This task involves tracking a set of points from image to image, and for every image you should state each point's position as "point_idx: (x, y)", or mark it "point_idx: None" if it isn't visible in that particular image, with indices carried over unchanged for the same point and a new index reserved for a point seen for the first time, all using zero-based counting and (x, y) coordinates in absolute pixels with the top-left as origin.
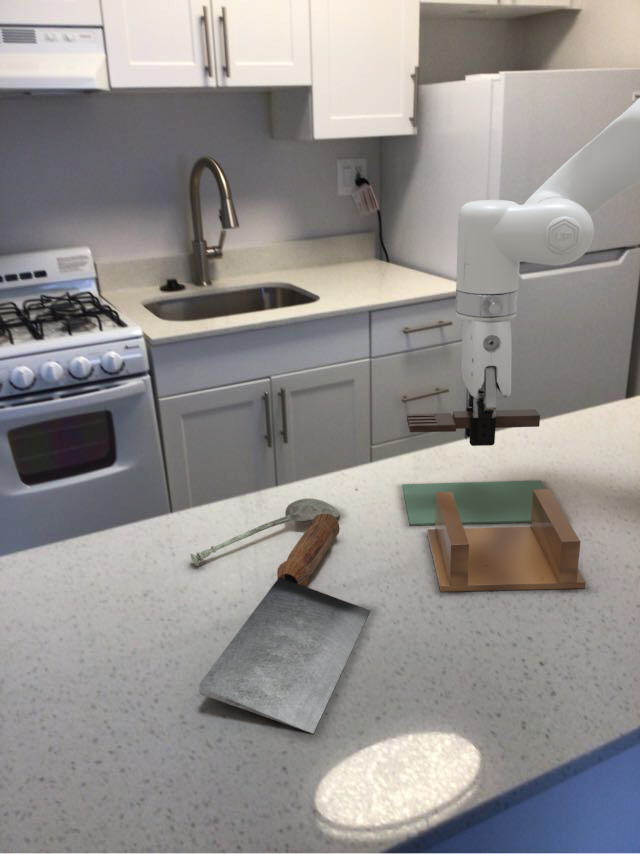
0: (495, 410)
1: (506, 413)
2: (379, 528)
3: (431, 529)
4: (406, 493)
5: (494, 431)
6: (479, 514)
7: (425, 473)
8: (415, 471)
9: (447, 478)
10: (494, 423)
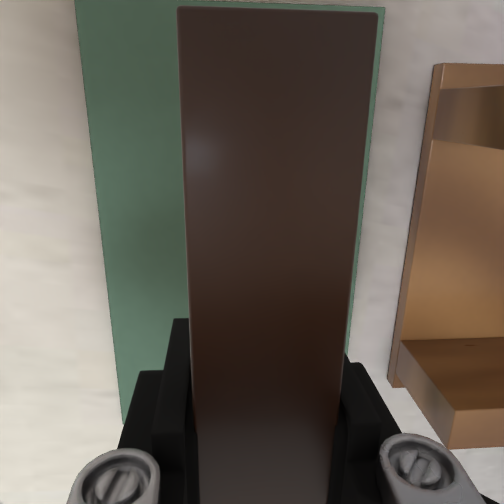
0: (479, 500)
1: (281, 325)
2: None
3: (396, 380)
4: None
5: (346, 356)
6: None
7: (30, 362)
8: (18, 386)
9: (63, 307)
10: (359, 391)
